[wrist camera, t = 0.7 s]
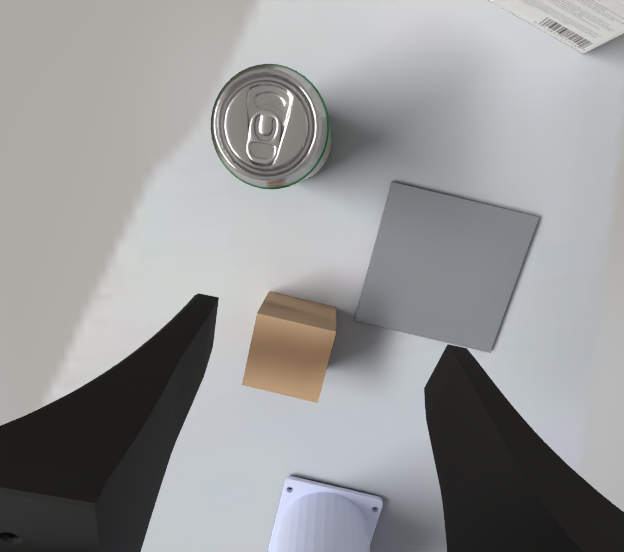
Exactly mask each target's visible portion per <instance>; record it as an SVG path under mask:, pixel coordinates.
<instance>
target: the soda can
mask: <svg viewBox="0 0 624 552" xmlns="http://www.w3.org/2000/svg"><path fill="white" fill-rule="evenodd" d="M211 134H212V140H213V144H214V147H215V150H216V152H217V154H218V156H219V158H220V160H221V161H222V163H223V164H224V166H225V167H226V168H227V169H228V170H229V171H230V172H231V173H232V174H233V175H234V176H235V177H236V178H238V179H239V180H241V181H243V182H244V183H246V184H249V185H251V186H254V187H258V188H262V189H280V188H284V187H288V186H291V185H293V184H296V183H298V182H300V181H303V180H305V179H308V178H310V177H312V176H313V175H315V174H316V173H317V172H318V171H320V169H321V168H322V167H323V166H324V164H325V163H326V161H327V159H328V157H329V154H330V150H331V132H330V125H329V118H328V114H327V109H326V106H325V104H324V101H323V99H322V97H321V95H320V94H319V92H318V90H317V89H316V88H315V86H314V85H313V84H312V83H311V82H310V81H309V80H308V79H307V78H306V77H305V76H303V75H302V74H300V73H299V72H297V71H295V70H293V69H291V68H288V67H285V66H281V65H276V64H262V65H256V66H253V67H249V68H247V69H245V70H243V71H241V72H239V73H238V74H236V75H235V76H234V77H232V78H231V79H230V80H229V81H228V82H227V83H226V84H225V86H224V87H223V88H222V90H221V91H220V93H219V95H218V97H217V99H216V101H215V104H214V107H213V111H212V116H211Z"/></svg>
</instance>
